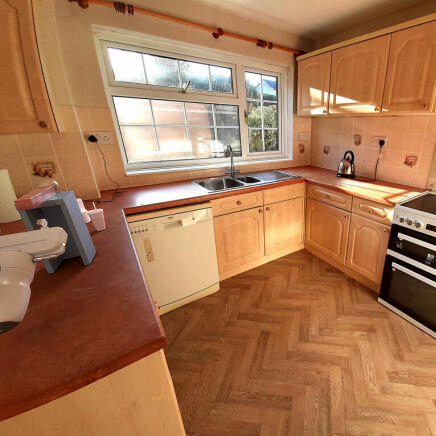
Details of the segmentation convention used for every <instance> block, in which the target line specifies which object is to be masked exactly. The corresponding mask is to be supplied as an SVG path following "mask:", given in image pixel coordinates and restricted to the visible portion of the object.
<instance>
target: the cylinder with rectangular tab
mask: <svg viewBox="0 0 436 436" xmlns="http://www.w3.org/2000/svg"><path fill="white" fill-rule="evenodd" d="M82 199H83V198H76V200H77V202H78V205H79V208H80V210H81V213H82V216H83V218H84V221H85V223H86V224H88V223H90V222H92V221H91V219H90V217H89V215H87V212H88V209H86V208H85V205H84V202H83V200H82Z"/></svg>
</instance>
